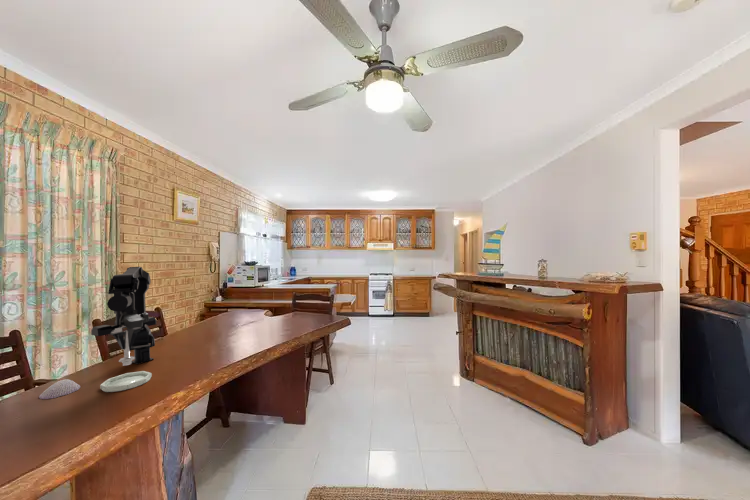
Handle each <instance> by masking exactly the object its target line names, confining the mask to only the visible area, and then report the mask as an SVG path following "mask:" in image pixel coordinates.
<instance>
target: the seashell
mask: <svg viewBox="0 0 750 500" xmlns="http://www.w3.org/2000/svg"><path fill="white" fill-rule="evenodd" d="M79 389H81V385H80V384H78V383H77V382H75V381H74V380H71V379H67V378H66V379H61V380H59V381H56V382H54V383H53V384H52V385H50V386H49V387H48V388H46V389H45V390H44V391H43V392H42V393H41V394H39V396H38V398H39V399H40V400H50V399H57V398H59V397H62V396H67V395H70V394H72V393H75V392H78V390H79Z"/></svg>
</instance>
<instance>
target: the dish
mask: <svg viewBox="0 0 750 500" xmlns="http://www.w3.org/2000/svg"><path fill="white" fill-rule="evenodd" d="M152 375H153V374H152V372H149V371H145V370H140V371H134V372H133V371H132V372H126V373H123V374H120V375H116V376H114V377H110V378H108V379H106V380H105V381H103V382H102V383H101V384H99V385H100V386H99V387H100V388H99V389H100V390H101V391H103V392H105V393H114V392H121V391H126V390H129V389H134V388H136V387H139V386H142V385H145V384H146V383H147V382H149V381H150V380H151V378H152Z"/></svg>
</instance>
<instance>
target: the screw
mask: <svg viewBox="0 0 750 500" xmlns="http://www.w3.org/2000/svg"><path fill="white" fill-rule="evenodd" d="M123 332H125V333H124V345H125V347H124V350H123V353H124V354H123V357H120V359H119V360H118V362H119V363H122V367H123V366H126V367H127V366H129V365H132V362H131V361H133V360H135V357H134V355H130V353H131V350H130V349H129V348H130V346H129V345H130V344H129V342H130V341H129V339H130V338H129V336H128V331H127V329H126V330H124V331H123Z"/></svg>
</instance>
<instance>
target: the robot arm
mask: <svg viewBox="0 0 750 500" xmlns="http://www.w3.org/2000/svg"><path fill="white" fill-rule="evenodd" d="M151 283H152V282H151V276H150V273H149V272H148V271H146V270H144V269H143V267H141V266H130V267H127V268H126V270H125V271H124V272H123V273H122V274H114V275H112V277H111V278H110V282H109V287H108V293H107V294H108V295H113V296H111V297H109V299H108V301H107V303H106V304H107V307H108V309H109V310H111V311H112V312H113V313H114V314H115V321H114V325H109V324H103V325H97V326H93V327H92V328H91V332H90V333H91V335H92V336H96V337H101V336H106V335H107V336H108V335H111V336H112V337H113V338H114V339H115V341H116V342H117V344H118V345H119V348H121V350H123V351H124V347H125V345H124V333H125V332H124V331H123V330H124V329H126V330H127V331H128V336H129V338H130V339H129V341H130V342H129V344H130V345H129V346H130V348H129V349H130V350H129V351H133V353H134V355H133V356H134V357H135V359H133V360H132V361H131V364H135V365H140V364H143V363H147V362H150V361H153V360H154V357H151V348H153V347H156V342H155V337H154V336H153V334H152V330H151V329H150V326H155V325H157V319H156V317H153V316H152V317H151V316H150V315H149V313H147V310H146V309H147V308H146V292H147V291H148V290H149V288H150V285H151Z"/></svg>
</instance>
